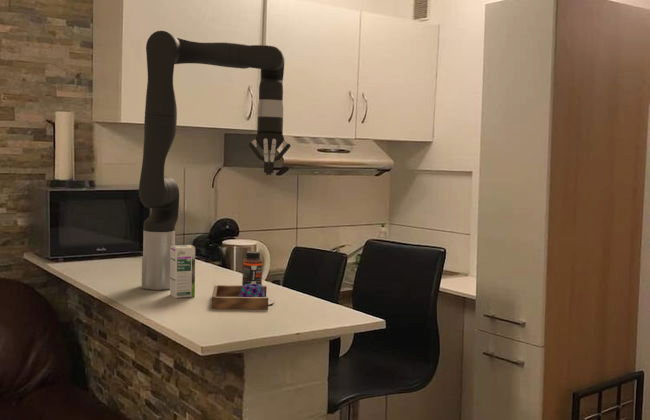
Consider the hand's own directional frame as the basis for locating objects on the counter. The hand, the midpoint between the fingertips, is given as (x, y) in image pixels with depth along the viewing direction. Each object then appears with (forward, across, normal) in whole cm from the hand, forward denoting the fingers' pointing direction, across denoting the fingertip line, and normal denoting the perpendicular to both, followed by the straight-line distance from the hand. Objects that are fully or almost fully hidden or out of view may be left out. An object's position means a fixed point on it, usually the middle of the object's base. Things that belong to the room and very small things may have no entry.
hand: (268, 174), depth 216 cm
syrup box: (+35, -24, -8) cm, 43 cm away
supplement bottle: (+35, -4, +4) cm, 36 cm away
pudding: (+36, -4, -16) cm, 39 cm away
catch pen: (+35, -7, -16) cm, 39 cm away
